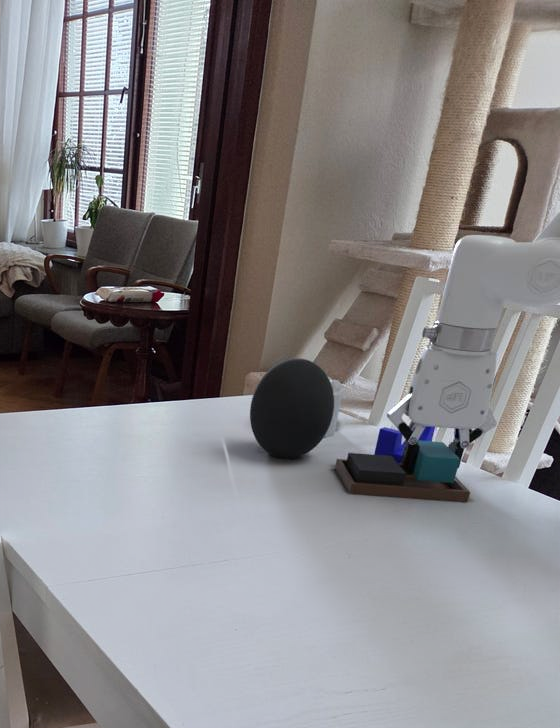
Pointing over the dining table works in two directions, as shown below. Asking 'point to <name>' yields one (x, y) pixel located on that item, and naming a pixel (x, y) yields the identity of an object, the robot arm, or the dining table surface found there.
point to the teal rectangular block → (435, 463)
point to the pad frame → (405, 487)
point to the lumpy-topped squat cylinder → (335, 405)
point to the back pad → (375, 469)
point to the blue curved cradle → (397, 442)
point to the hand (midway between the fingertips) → (428, 469)
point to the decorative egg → (292, 408)
